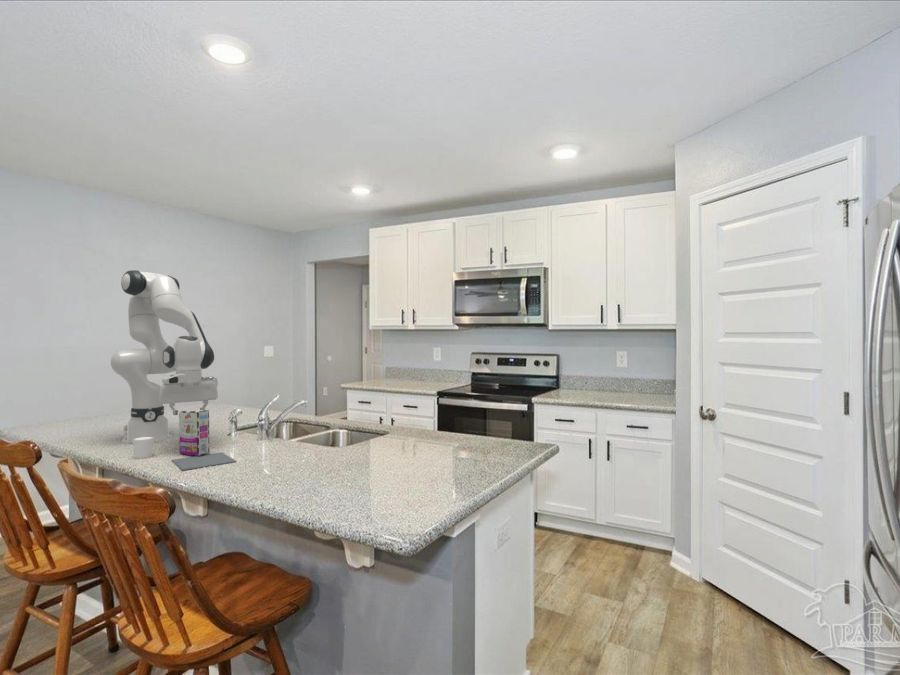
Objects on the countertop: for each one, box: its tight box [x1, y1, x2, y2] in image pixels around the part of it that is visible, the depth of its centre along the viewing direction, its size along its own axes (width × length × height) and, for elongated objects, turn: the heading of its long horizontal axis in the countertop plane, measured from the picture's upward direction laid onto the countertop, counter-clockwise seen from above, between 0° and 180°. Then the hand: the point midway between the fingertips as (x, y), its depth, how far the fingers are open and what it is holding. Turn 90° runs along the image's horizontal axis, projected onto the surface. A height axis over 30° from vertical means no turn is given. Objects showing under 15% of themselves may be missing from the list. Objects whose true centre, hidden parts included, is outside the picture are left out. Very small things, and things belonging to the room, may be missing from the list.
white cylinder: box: [132, 437, 155, 459], centre depth 180 cm, size 7×7×7 cm
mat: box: [171, 452, 237, 472], centre depth 173 cm, size 17×17×1 cm
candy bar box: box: [178, 409, 210, 457], centre depth 183 cm, size 11×5×16 cm, turn 62°
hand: (189, 413), depth 189 cm, fingers open, 8 cm apart
